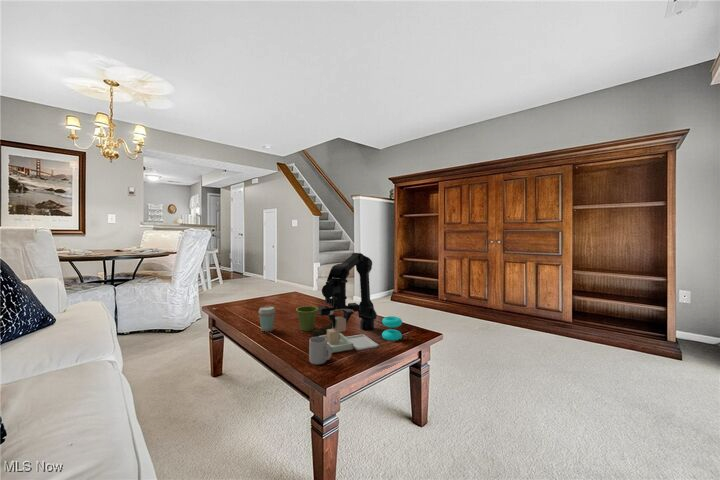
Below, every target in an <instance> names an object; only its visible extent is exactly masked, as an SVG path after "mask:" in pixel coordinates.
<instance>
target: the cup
mask: <svg viewBox="0 0 720 480" xmlns="http://www.w3.org/2000/svg"><path fill="white" fill-rule="evenodd" d="M308 340H309V345H308V346H309V347H308V350H309V351H308V357H309V358H308V362H310V363H311V365H323V364H325V363H326V362H327V361H328V360H329V361H330V360H331V357H332V354H333V353H332V350H331V346H330V345H329V344H327V338H325V337H313V336H312V337H310V338H309V339H308Z"/></svg>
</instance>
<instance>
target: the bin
mask: <svg viewBox="0 0 720 480" xmlns="http://www.w3.org/2000/svg"><path fill="white" fill-rule="evenodd" d="M319 337H325V338H327V334H324V335H321V336H319ZM346 337H347V336H345V335H344V334H343V333H342V332H339V343H334V344H329V343H328V342H327V344H329V345H330V346H331V350H332V354H333V353H339V352H344V351H350V350H354V347H353V343H352V342H351V341H350V340H348V339H347V338H346Z"/></svg>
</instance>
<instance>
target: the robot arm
mask: <svg viewBox="0 0 720 480" xmlns="http://www.w3.org/2000/svg"><path fill="white" fill-rule="evenodd" d="M354 267H355V270H356V272H357V273H358V275H359V287H360V302H359V304H358V303H357V302H349V303H348V304H346V300H347V299H348V297H347V296H346V294H347V291H346V290H347V289H346V288H347V283H348V279H347V278H348V276H349V275H350V272H351V270H352V269H353V268H354ZM372 269H373V261H372V259H371V258H370V257H369V256H366V255H364V254H363V253H361V252H353V253H352V254H351V255H350V256H349V257H348V258H346V259H345V260H344V261H342V263H337V264H333V266H332V267H331V268H330V271H329V273H328V277H327V279H326V281H325V285H323V286H322V288H321V294H322V296H323V298H324V304H325V305H321V306H318V307H317V308H318V310H317V313H318V314H319V315H320V316H322V317H323V316H327V317H328V319H329V320H330V323H332V326H333V328H334V329H335V317H336V314H335V312H340V311H342V312H343V317H344V318H346V325H347V324H348V322H349V320H350V318H351V316H352V315H354V313H355V312H356V313H358V314H357V315H358V318H359V319H360V327H359V328H360V329H361V330H363V331H364V332H368V331H374V330H376V328H375V320H376V319H377V317H378V316H377V315H378V314H377V311H376V310H375V308H374V307H375V306H374V303H373V302H372V300H371V292H370V291H371V290H370V273H371V271H372ZM327 305H328V306H329V307H328V306H327Z"/></svg>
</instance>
